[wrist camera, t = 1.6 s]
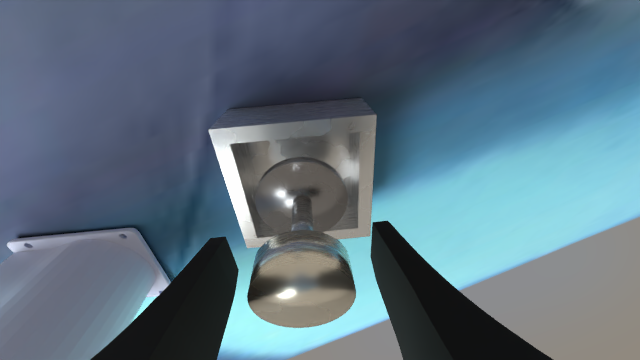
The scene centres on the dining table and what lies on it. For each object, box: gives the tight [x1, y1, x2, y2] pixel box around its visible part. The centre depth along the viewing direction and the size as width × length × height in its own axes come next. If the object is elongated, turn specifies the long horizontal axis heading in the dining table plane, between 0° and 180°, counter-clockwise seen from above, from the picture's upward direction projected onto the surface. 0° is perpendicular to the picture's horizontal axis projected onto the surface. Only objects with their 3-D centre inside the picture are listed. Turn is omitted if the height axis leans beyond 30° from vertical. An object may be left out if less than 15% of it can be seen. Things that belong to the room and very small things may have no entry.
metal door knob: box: [247, 157, 356, 328], centre depth 11 cm, size 5×5×6 cm
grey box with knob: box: [208, 98, 377, 248], centre depth 16 cm, size 8×10×4 cm
